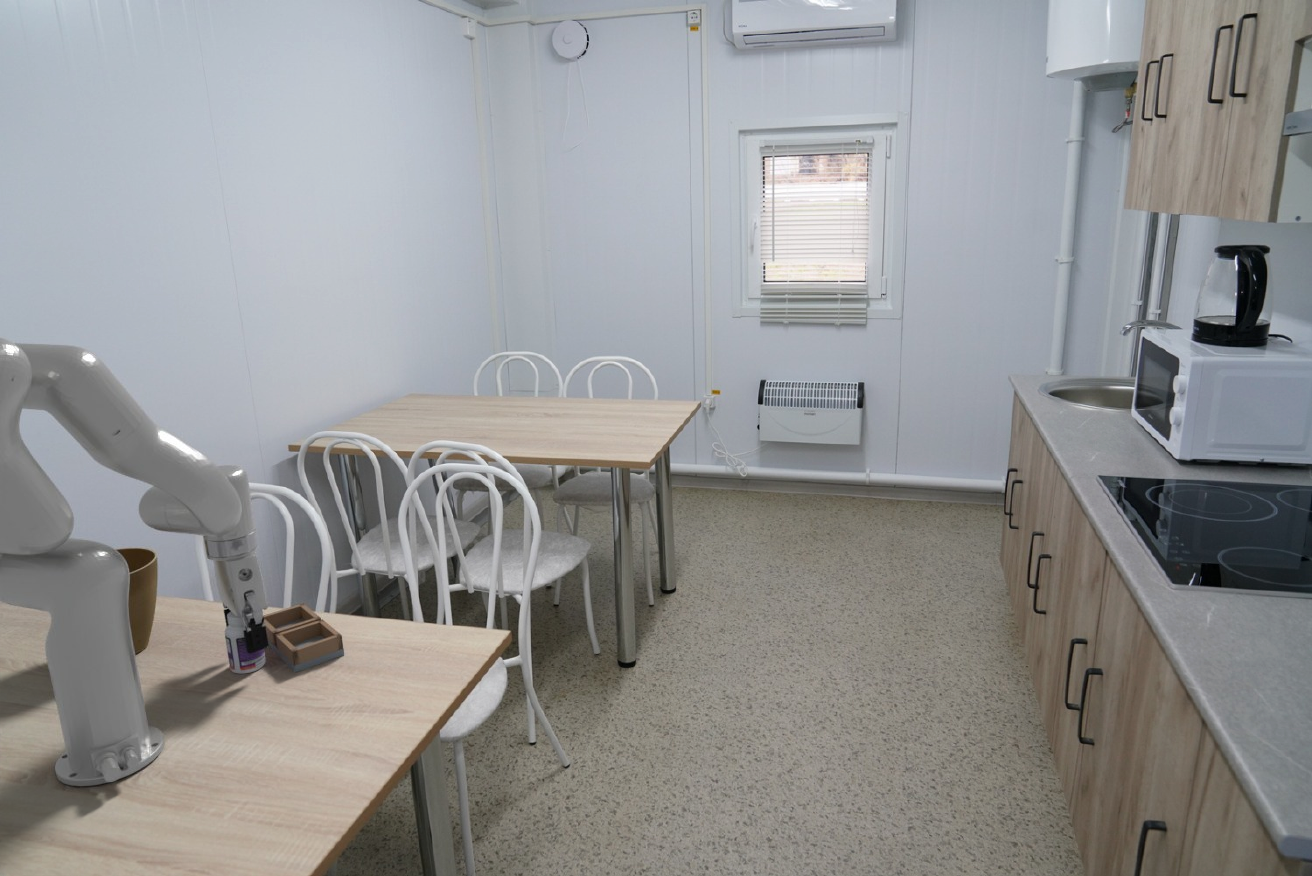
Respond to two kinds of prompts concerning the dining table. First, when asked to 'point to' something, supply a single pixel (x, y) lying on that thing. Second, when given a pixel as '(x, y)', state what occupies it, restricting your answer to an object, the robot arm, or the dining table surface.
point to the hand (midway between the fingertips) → (247, 638)
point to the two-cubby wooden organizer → (302, 637)
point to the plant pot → (141, 593)
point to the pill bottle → (241, 647)
